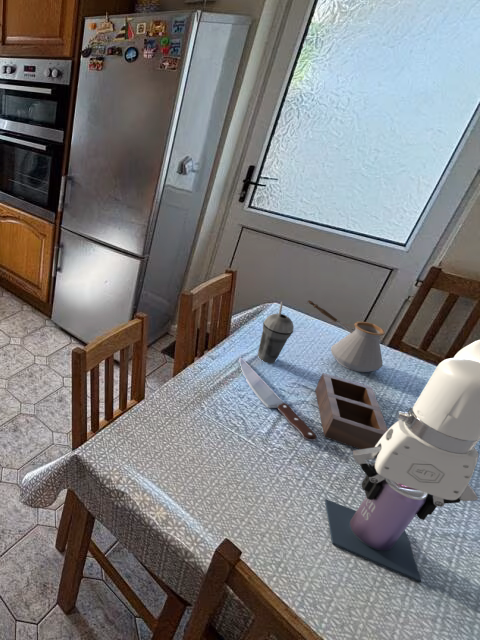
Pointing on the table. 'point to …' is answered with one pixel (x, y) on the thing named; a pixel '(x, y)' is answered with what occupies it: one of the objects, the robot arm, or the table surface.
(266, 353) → the beverage cup
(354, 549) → the mat
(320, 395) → the box
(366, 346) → the coffee pot
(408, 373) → the table surface
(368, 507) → the beverage can
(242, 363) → the steak knife
